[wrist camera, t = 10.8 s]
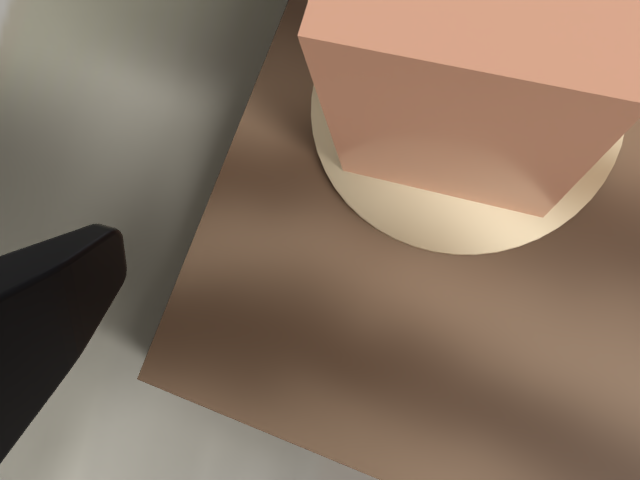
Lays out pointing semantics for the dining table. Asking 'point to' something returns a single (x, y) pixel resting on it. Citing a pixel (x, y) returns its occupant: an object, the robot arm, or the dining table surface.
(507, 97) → the peach colored cube
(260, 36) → the dining table surface
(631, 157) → the walnut board
